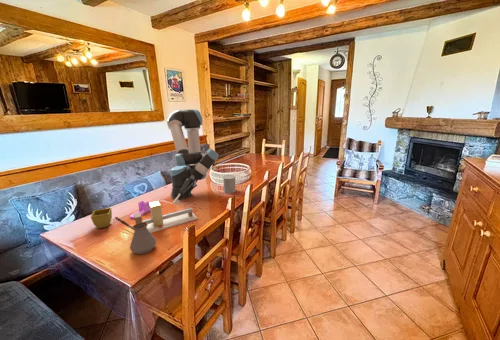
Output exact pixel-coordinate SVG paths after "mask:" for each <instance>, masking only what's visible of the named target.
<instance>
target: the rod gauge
mask: <svg viewBox="0 0 500 340" xmlns="http://www.w3.org/2000/svg"><path fill="white" fill-rule="evenodd" d="M133 213H134V217H135V219H134V222H135V224H137V223H141V222H146V223H147V224H148V225H147V229H148V230H149V231H150V233H151V234H153V233H155V232H159V231H162V230H166V229H169V228H172V227H175V226H179V225H182V224H186V223H189V221H190V222H192V221H196V220H198V217H197V215H196V214H195V213H194V209H193V208H192V207H189V208H185V209H181V210H177V211H174V212H170V213H166V214H162V217H163V224H164V225H160V226H157V227H154V225H153V219H152V218H151V217H150V218H148V219H147V218H146V219H144V220H143V218H142V216H141V214H140V212H138V213H135V212H133Z"/></svg>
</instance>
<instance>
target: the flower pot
mask: <svg viewBox="0 0 500 340" xmlns="http://www.w3.org/2000/svg"><path fill="white" fill-rule="evenodd" d="M112 217H113V213H112V207H108V208H104V209H103V208H102V209H96V210H93V212H92V213H91V215H90V219H91V221H92V223H93V225H94V226H95V227H96V228H97V229H104V228H107V227H109V226H110V224H111V222H112Z"/></svg>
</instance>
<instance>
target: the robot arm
mask: <svg viewBox="0 0 500 340" xmlns="http://www.w3.org/2000/svg"><path fill="white" fill-rule="evenodd" d="M202 125H203V117H202V114H201V112H200V111H199V110H198V109H193V108H192V109H177V110H174V111H172V112H171V113H170V114H169V116H168V118H167V127H168V129H169V130H170V133H171V137H172V140H173V144H174V148H175V152H176V154H175V155H174V161H175V165H176V166H173V167H172V168H171V169H170V177H171V178H170V179H171V186H172V188H171V193H170V197H171V198H172V199H174V200H173V201H172V203H173V204H174V205H175V206H178V205H179V203H180V202H181V201H182V199H183V200H184V199H186V198H190V197H191V195H192V191H193V190H194V189H195V188H196V187H197V186H198V184H197V183H198V181H202V180H204V179H205V178H206V177H207V174H208V172H209V170H210V169H211V167H212V166H213V165H214V164H215V162H216V161H217V160H218V158H219V156H220V155H219V153H218V152H216V151H215V150H214V149H212V148H208V149H207V150H201V142H200V133H199V131H200V129H201V126H202ZM182 127H184V129H185V131H186V133H187V134H186V135H187V141H188V142H187V141H186V137H185V134H184V131H183V128H182Z"/></svg>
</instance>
